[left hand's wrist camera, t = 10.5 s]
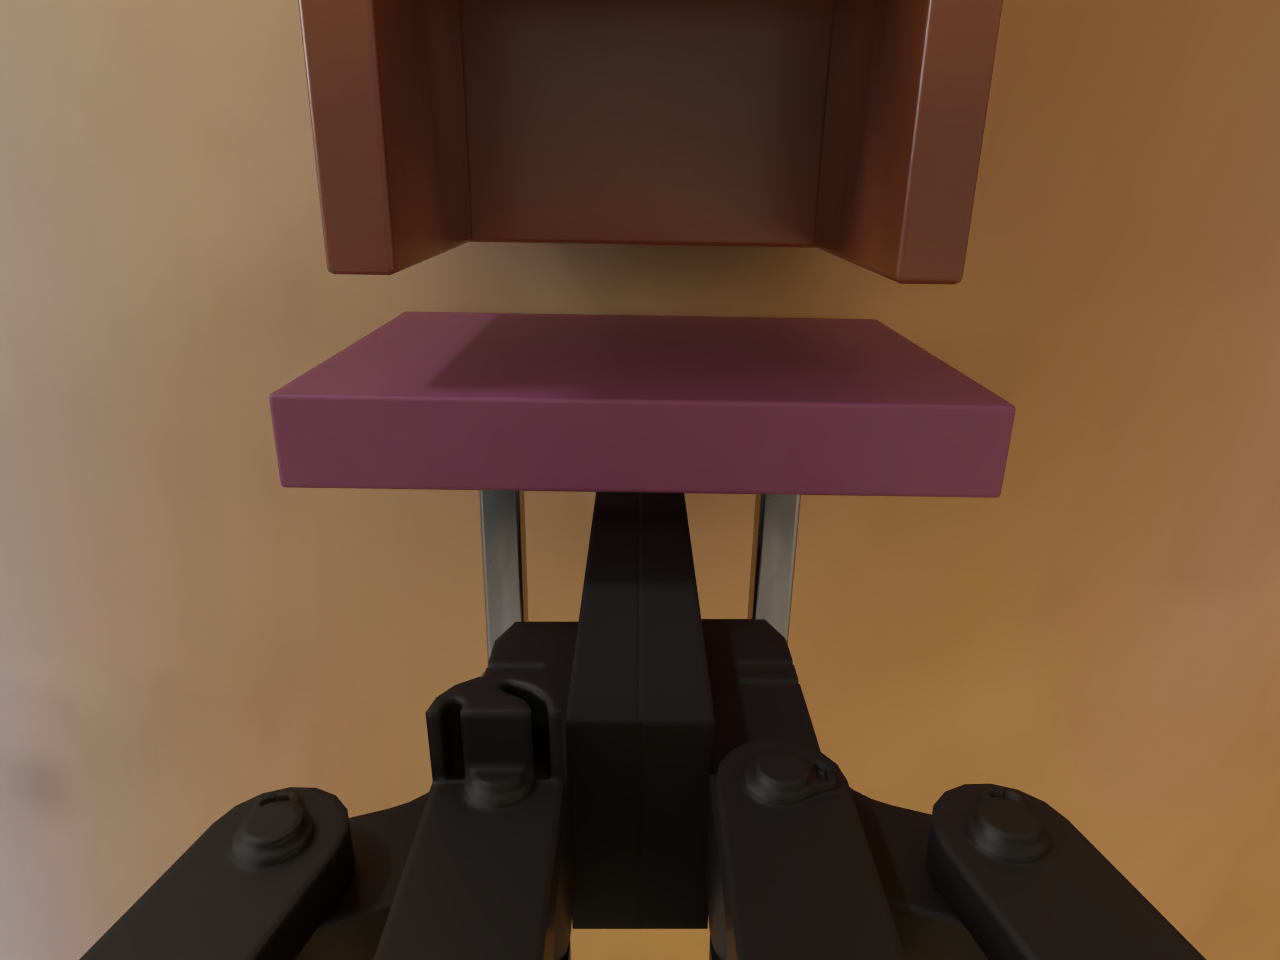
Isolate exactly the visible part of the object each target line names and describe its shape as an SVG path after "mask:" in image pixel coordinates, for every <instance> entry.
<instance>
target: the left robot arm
mask: <svg viewBox="0 0 1280 960" xmlns="http://www.w3.org/2000/svg"><path fill="white" fill-rule="evenodd" d="M426 721H427V730H428V740H429V749H430V759H431V768H432V778H433V783H432V786H431V789H430V792H428V793H427V794H425V795H423V796H421V797H419V798H417V799H415V800H413V801H411V802H409V803H405V804H402V805H399V806H396V807H393V808H390V809H386V810H382V811H377V812H373V813H369V814H365V815H360V816H356V817H352V818H348V811H347V808H346V807H345V806H344V805H343V804H342V802H341V801H340V800H339V799H338V798H337V796H336V795H333V794H330V793H328V792H325V791H323V790H320V789H317V788H298V787H290V788H285V789H281V790H276V791H272V792H267V793H263V794H261V795H258V796H256V797H254V798H252V799H250V800H248V801H246V802H243V803H241V804H239V805H237V806H235V807H234V808H233V809H231V810H230V811H229V812H227V813H226V814H225V815H224V816H222V817H221V818H220V819H218V820H217V821H216V822H215V823H213V824H212V825H211V826H210V827H209V828H208V829H207V830H206V831H205V832H204V833H203V834H202V836H201V837H200V838H199V839H198V840H197V841H196V842H195V843H194V844H193V845H192V846H191V847H190V848H189V849H188V850H187V851H186V852H185V853H184V854H183V855H182V856H181V857H180V858H179V859H178V860H177V861H176V862H175V863H174V864H173V865H172V866H171V867H170V868H169V869H168V870H167V871H166V872H165V873H164V874H163V875H162V876H161V877H160V878H159V879H158V880H157V881H156V882H155V883H154V884H153V885H152V886H151V887H150V888H149V889H148V890H147V891H146V892H145V893H144V894H143V895H142V897H141V898H140V899H139V900H138V901H137V902H136V903H135V904H134V905H133V906H132V907H131V908H130V909H129V910H128V911H127V912H126V913H125V914H124V915H123V916H122V917H121V918H120V919H119V920H118V921H117V922H116V923H115V924H114V925H113V926H112V927H111V928H110V929H109V930H108V931H107V932H106V933H105V934H104V935H103V936H102V937H101V938H100V939H99V940H98V941H97V942H96V943H95V944H94V945H93V946H92V947H91V948H90V949H89V950H88V951H87V952H86V953H85V954H84V955H83V956H82V957H81V959H80V960H571V952H570V934H571V923H572V925H573V929H708V917H709V928H710V952H709V960H1206V959H1205V958H1204V957H1203V956H1202V955H1201V954H1200V953H1199V952H1198V951H1197V950H1196V949H1195V948H1194V947H1193V946H1192V945H1191V944H1190V943H1189V942H1188V941H1187V940H1186V939H1185V938H1184V937H1183V936H1182V935H1181V934H1180V933H1179V932H1178V931H1177V930H1176V929H1175V928H1174V927H1173V926H1172V925H1171V924H1170V923H1169V922H1168V921H1167V920H1166V919H1165V918H1164V916H1163V915H1162V914H1161V913H1160V912H1159V911H1158V910H1157V909H1156V908H1155V907H1154V906H1153V905H1152V904H1151V903H1150V902H1149V901H1148V900H1147V899H1146V898H1145V897H1144V896H1143V895H1142V894H1141V893H1140V892H1139V891H1138V890H1137V889H1136V888H1135V887H1134V886H1133V885H1132V884H1131V883H1130V882H1129V881H1128V880H1127V879H1126V878H1125V877H1124V876H1123V875H1122V874H1121V873H1120V872H1119V871H1118V870H1117V869H1116V868H1115V867H1114V866H1113V865H1112V864H1111V863H1110V862H1109V861H1108V860H1107V859H1106V858H1105V857H1104V856H1103V855H1102V854H1101V853H1100V852H1099V851H1098V850H1097V849H1096V848H1095V847H1094V846H1093V845H1092V844H1091V843H1090V842H1089V841H1088V840H1087V839H1086V838H1085V837H1084V836H1083V835H1082V834H1081V833H1080V832H1079V831H1078V830H1077V829H1076V828H1075V827H1074V826H1073V825H1072V824H1071V823H1070V822H1069V821H1068V820H1067V819H1066V818H1065V817H1063V816H1062V815H1061V814H1060V813H1058V812H1057V811H1056V810H1054V809H1053V808H1052V807H1050V806H1049V805H1048V804H1047V803H1045V802H1043V801H1041V800H1039V799H1037V798H1035V797H1032V796H1030V795H1028V794H1026V793H1024V792H1022V791H1019V790H1016V789H1012V788H1007V787H1003V786H998V785H994V784H964V785H962V786H959V787H957V788H954V789H951V790H949V791H946V792H944V794H943V795H942V796H941V797H940V798H939V800H938V801H937V802H936V803H935V804H934V806H933V812H932V815H930V814H926V813H922V812H918V811H913V810H909V809H905V808H900V807H896V806H892V805H889V804H886V803H882V802H879V801H876V800H873V799H871V798H869V797H867V796H864V795H862V794H860V793H858V792H856V791H854V790H853V789H851V788H850V787H849V785H848V782H847V780H846V778H845V776H844V775H843V773H842V772H841V770H840V768H839V767H838V765H837V764H836V763H835V762H833V761H832V760H831V759H829V758H828V757H827V756H825V755H824V754H823V753H821V751H820V748H819V745H818V741H817V738H816V735H815V732H814V729H813V725H812V722H811V719H810V716H809V712H808V709H807V706H806V703H805V700H804V696H803V693H802V690H801V687H800V684H798V677H797V674H796V670H795V667H794V665H793V663H792V658H791V654H790V651H789V648H788V645H787V641H786V638H785V637H783V636H782V635H781V634H780V633H779V632H778V631H777V630H776V629H775V628H774V627H773V626H772V625H771V624H770V623H768V622H767V621H766V620H765V619H701V614H700V607H699V600H698V592H697V585H696V577H695V570H694V563H693V555H692V548H691V541H690V533H689V526H688V519H687V511H686V504H685V497H684V493H649V492H596V498H595V505H594V513H593V520H592V527H591V535H590V542H589V550H588V557H587V564H586V572H585V579H584V586H583V594H582V601H581V608H580V616H579V622H515V623H514V624H513V625H512V626H510V627H509V628H508V629H507V630H506V631H505V632H504V633H503V634H502V635H501V636H500V637H499V638H498V639H497V640H495V642H494V645H493V649H492V652H491V655H490V658H489V662H488V668H486V671H485V675H484V677H478V678H475V679H472V680H469V681H466V682H463V683H460V684H457V685H455V686H453V687H452V688H450V689H449V690H447V691H446V692H444V693H443V694H441V695H440V696H438V697H437V698H436V699H435V700H434V702H433V703H432V705H431V706H430V707H429V709H428V710H427V712H426Z"/></svg>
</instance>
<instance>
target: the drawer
mask: <svg viewBox="0 0 1280 960" xmlns="http://www.w3.org/2000/svg"><path fill="white" fill-rule="evenodd" d="M1002 2H1003V0H298V3H299V13H300V22H301V31H302V40H303V50H304V59H305V68H306V77H307V86H308V96H309V105H310V114H311V123H312V133H313V142H314V151H315V160H316V169H317V179H318V188H319V197H320V206H321V216H322V225H323V234H324V243H325V252H326V262H327V268H328V270H329V272H331V273H333V274H364V275H391V274H394V273H396V272H398V271H401V270H403V269H405V268H408V267H410V266H413V265H415V264H417V263H420V262H422V261H424V260H427V259H429V258H431V257H434V256H436V255H439V254H441V253H443V252H446V251H448V250H450V249H453V248H455V247H457V246H460V245H462V244H464V243H467V242H522V243H580V244H639V245H697V246H755V247H814V248H819V249H821V250H824V251H826V252H828V253H831V254H833V255H835V256H838V257H840V258H842V259H845V260H847V261H849V262H852V263H854V264H856V265H859V266H861V267H863V268H866V269H868V270H870V271H873V272H875V273H877V274H880V275H882V276H884V277H887V278H889V279H891V280H894V281H896V282H898V283H906V284H956V283H959V282H960V281H961V279H962V277H963V270H964V263H965V256H966V249H967V243H968V236H969V229H970V222H971V215H972V208H973V201H974V195H975V188H976V181H977V174H978V167H979V160H980V153H981V147H982V140H983V133H984V126H985V119H986V112H987V105H988V98H989V92H990V85H991V78H992V71H993V64H994V57H995V50H996V44H997V37H998V30H999V23H1000V16H1001V9H1002ZM269 401H270V408H271V415H272V422H273V430H274V437H275V444H276V451H277V459H278V466H279V473H280V480H281V485H282V486H283V487H302V488H372V489H441V490H479V496H480V515H481V534H482V553H483V573H484V592H485V611H486V630H487V649H488V662H489V658H490V655H491V652H492V649H493V645H494V642H495V640H497V639H498V638H499V637H500V636H501V635H502V634H503V633H504V632H505V631H506V630H507V629H508V628H509V627H510V626H512V625H513V624H514V623H515V622H528V597H527V567H526V536H525V506H524V491H580V492H649V493H718V494H756V502H755V516H754V531H753V545H752V560H751V574H750V589H749V603H748V618H747V619H765V620H766V621H767V622H768V623H770V624H771V625H772V626H773V627H774V628H775V629H776V630H777V631H778V632H779V633H780V634H781V635H782V636H783V637H785V638H786V641H787V645H788V634H789V623H790V611H791V600H792V589H793V578H794V566H795V555H796V544H797V532H798V521H799V510H800V499H801V495H857V496H926V497H999V496H1000V494H1001V489H1002V483H1003V477H1004V472H1005V466H1006V460H1007V455H1008V449H1009V443H1010V438H1011V432H1012V426H1013V421H1014V415H1015V406H1014V405H1012V404H1011V403H1009V402H1007V401H1006V400H1004V399H1003V398H1001V397H999V396H998V395H996V394H994V393H993V392H991V391H990V390H988V389H986V388H985V387H983V386H982V385H980V384H978V383H977V382H975V381H974V380H972V379H970V378H969V377H967V376H966V375H964V374H962V373H961V372H959V371H958V370H956V369H954V368H953V367H951V366H950V365H948V364H946V363H945V362H943V361H942V360H940V359H938V358H937V357H935V356H934V355H932V354H930V353H929V352H927V351H926V350H924V349H922V348H921V347H919V346H917V345H916V344H914V343H913V342H911V341H909V340H908V339H906V338H905V337H903V336H901V335H900V334H898V333H897V332H895V331H893V330H892V329H890V328H889V327H887V326H885V325H884V324H882V323H881V322H879V321H877V320H875V319H818V318H757V317H696V316H635V315H574V314H512V313H451V312H404V313H403V314H401V315H399V316H398V317H396V318H395V319H393V320H391V321H390V322H388V323H386V324H385V325H383V326H381V327H380V328H378V329H377V330H375V331H373V332H372V333H370V334H368V335H367V336H365V337H363V338H362V339H360V340H358V341H357V342H355V343H354V344H352V345H350V346H349V347H347V348H345V349H344V350H342V351H340V352H339V353H337V354H336V355H334V356H332V357H331V358H329V359H327V360H326V361H324V362H322V363H321V364H319V365H318V366H316V367H314V368H313V369H311V370H309V371H308V372H306V373H304V374H303V375H301V376H300V377H298V378H296V379H295V380H293V381H291V382H290V383H288V384H286V385H285V386H283V387H282V388H280V389H278V390H277V391H275V392H273V393H272V394H270V397H269ZM484 675H485V672H483V674H482V676H481V677H484Z"/></svg>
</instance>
